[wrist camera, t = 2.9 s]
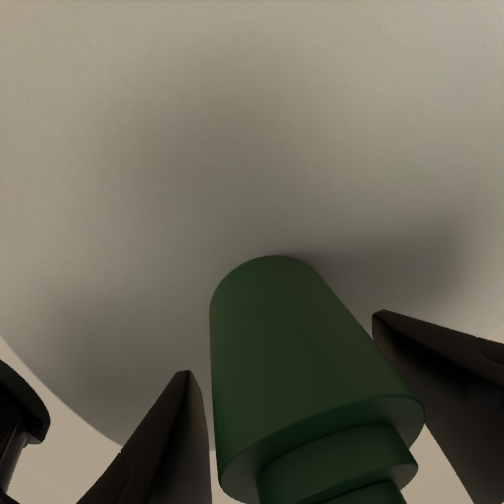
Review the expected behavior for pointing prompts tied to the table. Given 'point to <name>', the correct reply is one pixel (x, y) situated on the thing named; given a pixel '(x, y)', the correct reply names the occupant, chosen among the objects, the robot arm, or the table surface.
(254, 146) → the table surface
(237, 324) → the green bottle
